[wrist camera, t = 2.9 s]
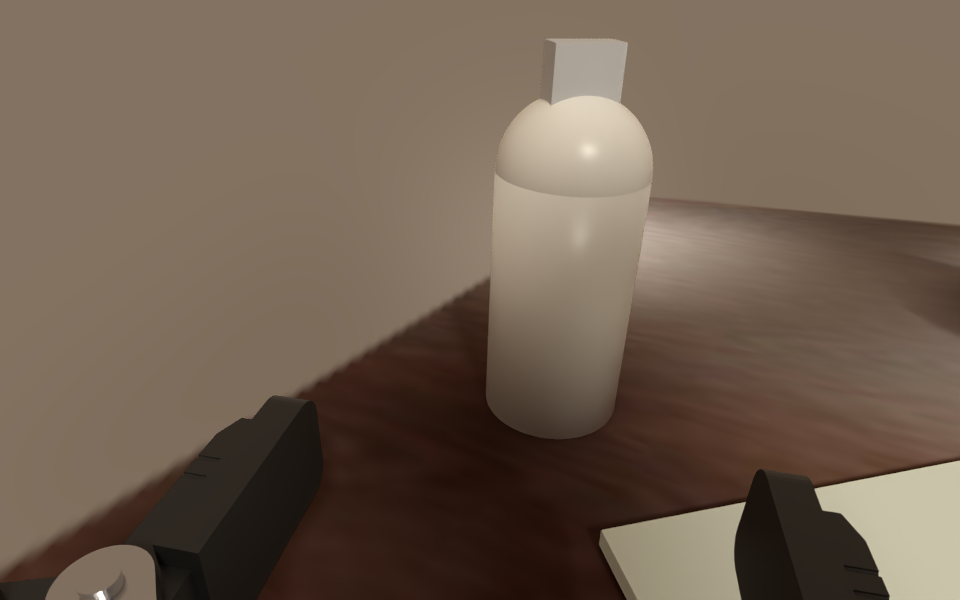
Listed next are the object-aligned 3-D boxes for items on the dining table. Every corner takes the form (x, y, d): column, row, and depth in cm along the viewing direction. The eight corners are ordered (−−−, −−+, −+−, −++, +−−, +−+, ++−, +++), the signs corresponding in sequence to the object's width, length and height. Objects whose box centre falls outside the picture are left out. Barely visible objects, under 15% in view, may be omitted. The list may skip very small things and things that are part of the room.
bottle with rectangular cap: (584, 353, 27) (626, 31, 21) (637, 428, 23) (709, 51, 17) (472, 367, 26) (481, 31, 20) (506, 448, 22) (531, 52, 15)
